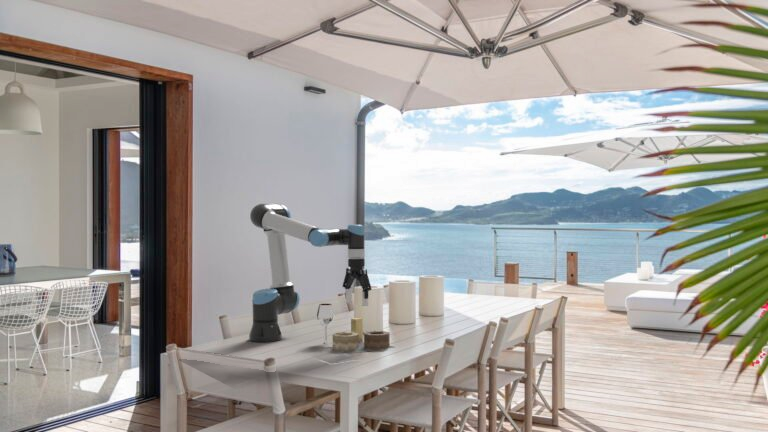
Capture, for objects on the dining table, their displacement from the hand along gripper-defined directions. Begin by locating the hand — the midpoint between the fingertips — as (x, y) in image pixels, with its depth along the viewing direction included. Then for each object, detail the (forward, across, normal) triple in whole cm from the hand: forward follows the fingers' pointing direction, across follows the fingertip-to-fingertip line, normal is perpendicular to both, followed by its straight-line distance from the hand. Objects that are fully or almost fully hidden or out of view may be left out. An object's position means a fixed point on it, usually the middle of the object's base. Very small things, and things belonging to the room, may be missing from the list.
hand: (356, 304), depth 306 cm
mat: (+18, -13, +6) cm, 23 cm away
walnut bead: (+17, -16, 0) cm, 23 cm away
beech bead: (+17, -10, +13) cm, 23 cm away
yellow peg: (+18, 0, 0) cm, 18 cm away
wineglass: (+18, +6, +13) cm, 23 cm away
